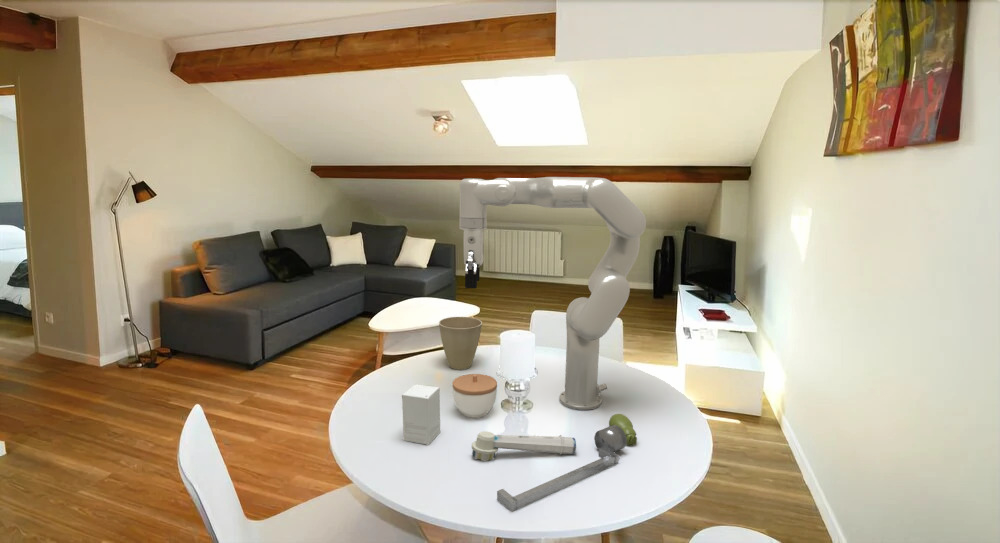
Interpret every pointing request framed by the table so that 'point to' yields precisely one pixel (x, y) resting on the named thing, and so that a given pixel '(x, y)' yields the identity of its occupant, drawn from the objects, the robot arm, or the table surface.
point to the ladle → (605, 443)
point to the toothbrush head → (520, 444)
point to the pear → (624, 427)
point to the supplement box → (421, 414)
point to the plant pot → (460, 340)
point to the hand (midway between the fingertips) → (472, 284)
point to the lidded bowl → (474, 394)
